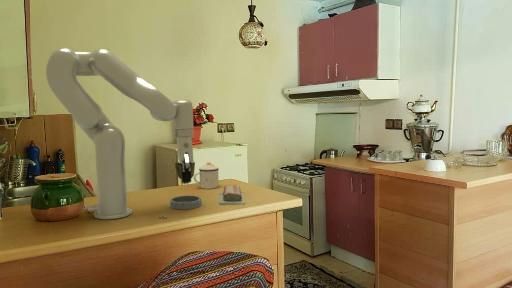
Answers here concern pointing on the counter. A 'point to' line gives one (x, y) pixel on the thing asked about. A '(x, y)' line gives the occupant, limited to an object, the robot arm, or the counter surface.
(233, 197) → the packaged product
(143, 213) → the counter surface
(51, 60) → the robot arm
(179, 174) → the dark rounded textured piece
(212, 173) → the teacup with lid
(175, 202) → the blue-grey plate
